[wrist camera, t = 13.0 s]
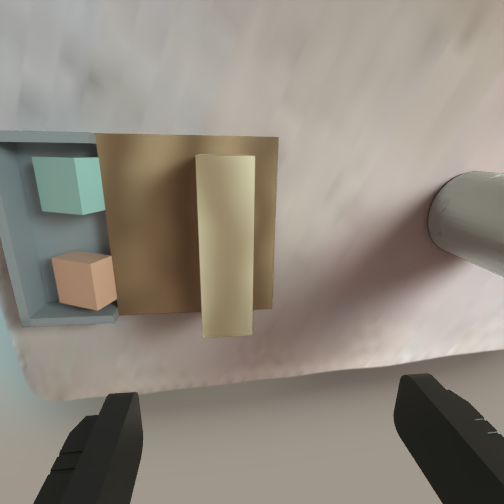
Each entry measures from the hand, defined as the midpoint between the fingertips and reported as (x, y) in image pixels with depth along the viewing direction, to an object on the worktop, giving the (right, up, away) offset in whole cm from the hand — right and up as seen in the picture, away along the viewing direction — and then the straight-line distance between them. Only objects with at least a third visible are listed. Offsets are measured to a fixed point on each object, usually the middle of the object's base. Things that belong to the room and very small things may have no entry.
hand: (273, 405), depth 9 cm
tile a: (-16, +11, +19) cm, 27 cm away
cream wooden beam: (-3, +7, +20) cm, 22 cm away
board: (-6, +7, +22) cm, 24 cm away
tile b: (-16, +2, +21) cm, 27 cm away
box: (-18, +7, +21) cm, 29 cm away
